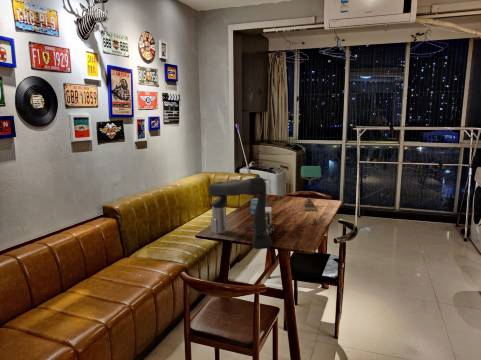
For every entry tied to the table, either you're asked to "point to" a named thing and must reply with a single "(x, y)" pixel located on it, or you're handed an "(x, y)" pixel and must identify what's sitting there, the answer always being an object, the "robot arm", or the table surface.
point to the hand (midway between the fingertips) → (263, 224)
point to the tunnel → (268, 210)
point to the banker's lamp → (310, 173)
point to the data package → (255, 204)
